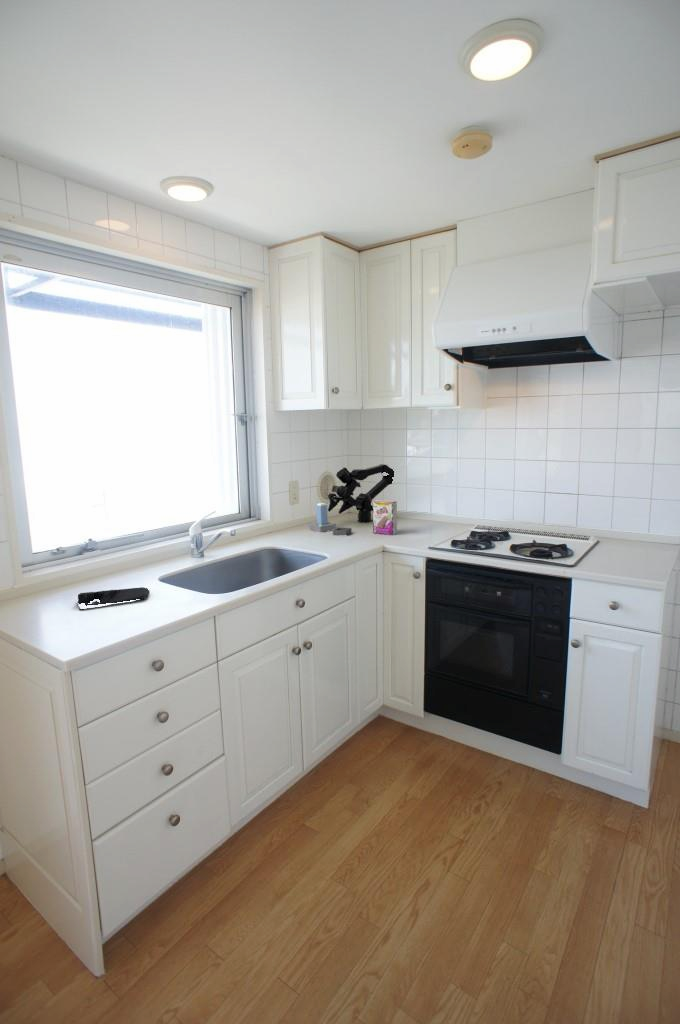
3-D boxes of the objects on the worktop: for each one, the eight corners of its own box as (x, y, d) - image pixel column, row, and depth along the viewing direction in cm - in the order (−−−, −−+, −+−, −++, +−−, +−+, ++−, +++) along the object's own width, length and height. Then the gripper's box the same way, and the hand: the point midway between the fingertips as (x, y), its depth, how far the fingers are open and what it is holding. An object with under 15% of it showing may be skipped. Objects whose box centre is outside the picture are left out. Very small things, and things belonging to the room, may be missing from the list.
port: (324, 526, 287) (324, 520, 287) (336, 529, 279) (335, 522, 279) (309, 529, 281) (309, 523, 281) (320, 532, 273) (320, 525, 273)
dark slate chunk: (148, 604, 175) (147, 590, 174) (75, 613, 169) (73, 598, 168) (150, 590, 189) (149, 577, 189) (83, 598, 183) (81, 584, 182)
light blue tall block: (323, 528, 283) (322, 502, 281) (327, 529, 280) (326, 503, 278) (317, 529, 281) (316, 503, 278) (321, 530, 278) (320, 504, 275)
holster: (338, 532, 273) (338, 527, 272) (351, 532, 270) (351, 528, 269) (332, 535, 266) (332, 530, 266) (346, 535, 263) (346, 530, 263)
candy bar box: (372, 533, 267) (372, 501, 264) (377, 531, 271) (376, 499, 268) (393, 535, 261) (392, 502, 258) (397, 533, 265) (397, 500, 262)
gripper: (329, 478, 291) (314, 501, 286) (351, 480, 276) (335, 505, 272) (341, 490, 297) (326, 513, 292) (363, 493, 282) (348, 517, 278)
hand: (333, 512), depth 283 cm, fingers open, 9 cm apart
